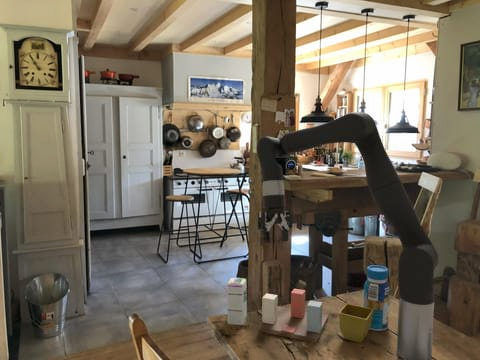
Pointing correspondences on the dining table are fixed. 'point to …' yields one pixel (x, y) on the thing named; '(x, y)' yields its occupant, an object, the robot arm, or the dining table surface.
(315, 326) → the grey rectangular block
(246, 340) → the dining table surface
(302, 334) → the brown wooden board
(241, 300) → the syrup box
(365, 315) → the flower pot
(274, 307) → the cream rectangular block
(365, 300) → the beverage bottle
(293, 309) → the red rectangular block
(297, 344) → the dining table surface
